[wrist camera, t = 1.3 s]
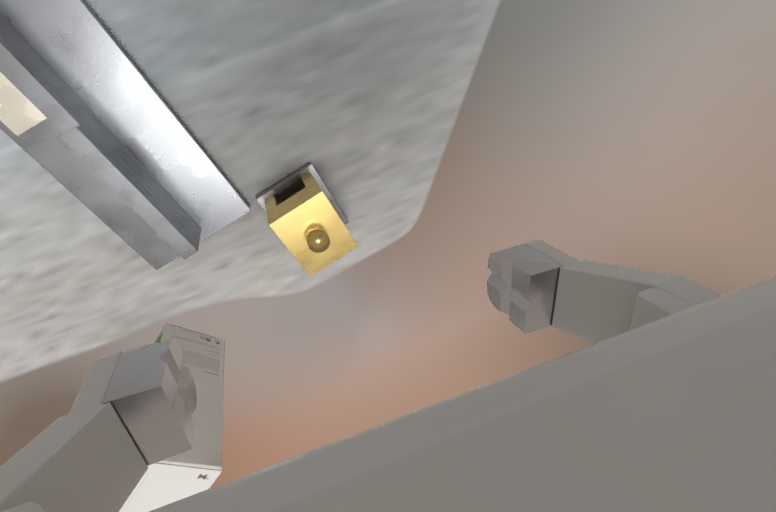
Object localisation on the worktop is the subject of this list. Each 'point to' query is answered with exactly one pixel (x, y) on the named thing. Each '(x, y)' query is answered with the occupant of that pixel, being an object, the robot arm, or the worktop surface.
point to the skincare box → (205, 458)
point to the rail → (107, 131)
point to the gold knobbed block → (310, 227)
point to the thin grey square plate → (297, 189)
